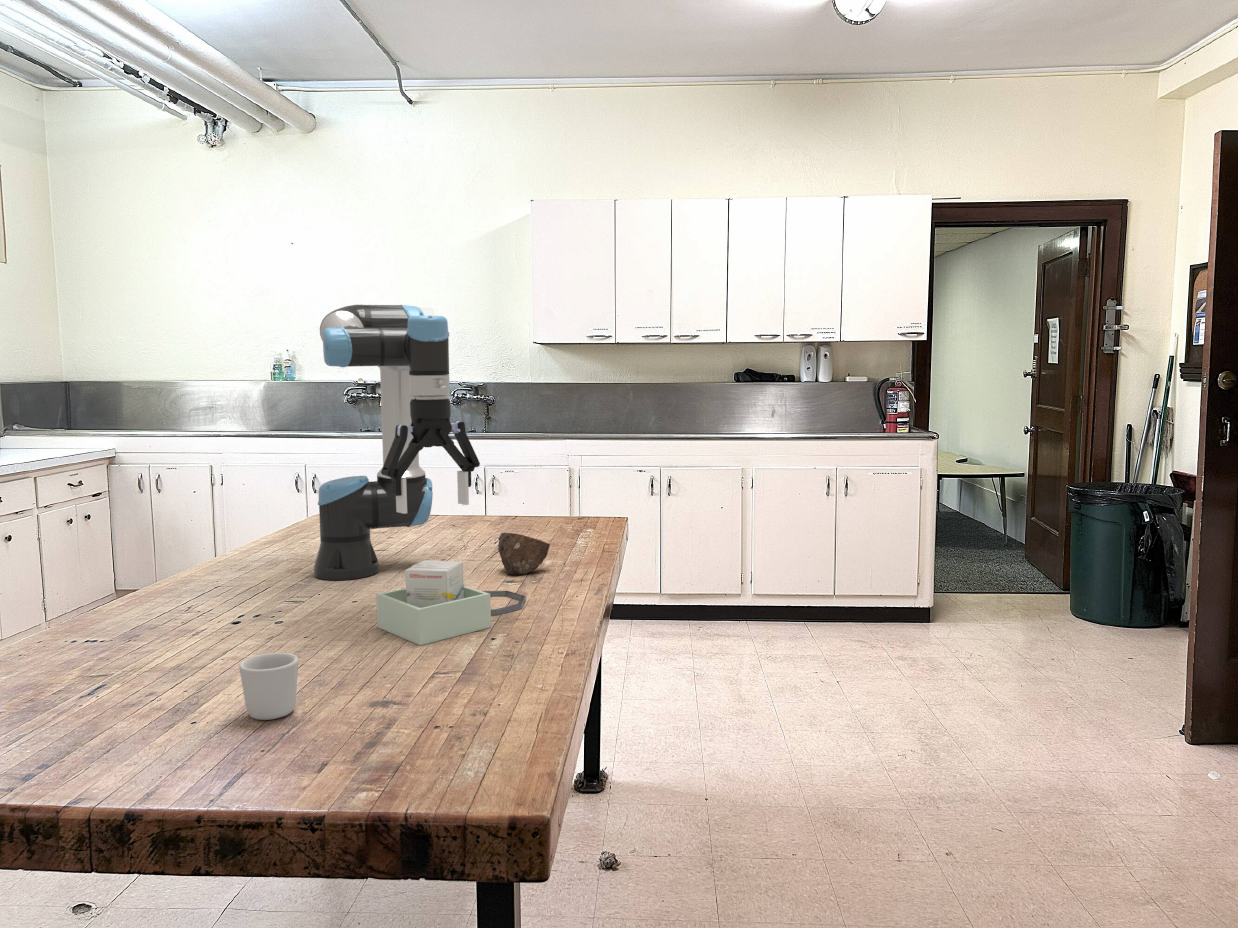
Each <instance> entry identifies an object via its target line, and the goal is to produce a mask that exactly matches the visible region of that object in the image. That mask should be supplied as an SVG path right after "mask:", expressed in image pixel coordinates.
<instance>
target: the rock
mask: <svg viewBox="0 0 1238 928" xmlns="http://www.w3.org/2000/svg"><path fill="white" fill-rule="evenodd" d="M550 545H551V544H550V543H548V542H545V541H543V540H540V539H538V538H534V537H531V536H527V535H524V534H519V533H514V532H501V533H500V535H499V537H498V547H497V550H498V553H499V556H500V559H501V563H502V565H503V568H504V571H505V572H506V573H508V574H509V575H514V576H520V575H526V574H530V573H531V572H533V571H535V570H536V569H538V568H539V566H540V565H542V564H543V561H544V560H545V559H546V558H547V555H548V554H549V549H550Z"/></svg>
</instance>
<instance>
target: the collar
mask: <svg viewBox="0 0 1238 928" xmlns="http://www.w3.org/2000/svg"><path fill="white" fill-rule="evenodd" d="M482 591H483V592H486V593H489V594H490V597H507V598H511V599H514V600H517V601H518V603H516V604H511V605H508V606H504V607H499V608H496V609H495V608H494V609H493V608H491V616H499V615H502V614H506V613H512V612H516V611H519V610H522V609H523V607H524V605H525V602H526V595H523V594H519V593H517V592H514V591H510V590H482Z"/></svg>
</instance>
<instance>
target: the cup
mask: <svg viewBox="0 0 1238 928" xmlns="http://www.w3.org/2000/svg"><path fill="white" fill-rule="evenodd" d="M298 672H299V657H298V656H297V655H295V654H293V653H289V652H268V653H263V654H262V653H261V654H257V655H253V656H250V657H248V658H246V659H244V660H242V662H241V663H239V673H240V680H241V684H242V685H241V686H242V692H243V697H244V704H245V708H246V712H247V713H248V715H249V716H250V717H251V718H253V719H255V720H258V721H268V720H275V719H280V718H283V717H285V716H287V715H289V714H291V713H292V712H293V710H294V709H295V706H296V703H297V692H298V690H297V689H298Z"/></svg>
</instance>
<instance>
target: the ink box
mask: <svg viewBox="0 0 1238 928" xmlns="http://www.w3.org/2000/svg"><path fill="white" fill-rule="evenodd" d="M404 576H405V577H404V578H405V588H406V593H407V603H408V604H411V605H413V606H416V607H419V608H423V607H428V606H432V605H437V604H441V603H446V602H450V601H455V600H459V599H464V586H465V584H464V562H463V561H451V560H450V561H448V560H432V559H431V560H429V559H424V560H422V561H420V562H417V563H415V564H413V565H411V566H410V567H408V568H407V569H405V570H404Z"/></svg>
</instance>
